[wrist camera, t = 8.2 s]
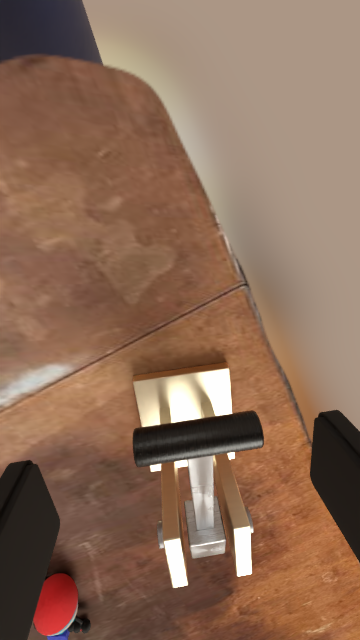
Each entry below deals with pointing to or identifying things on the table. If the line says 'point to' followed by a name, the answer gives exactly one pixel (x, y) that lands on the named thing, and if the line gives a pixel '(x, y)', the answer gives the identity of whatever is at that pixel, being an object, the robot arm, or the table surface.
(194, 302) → the table surface
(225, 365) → the bracket
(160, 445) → the lever
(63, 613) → the toy figure
